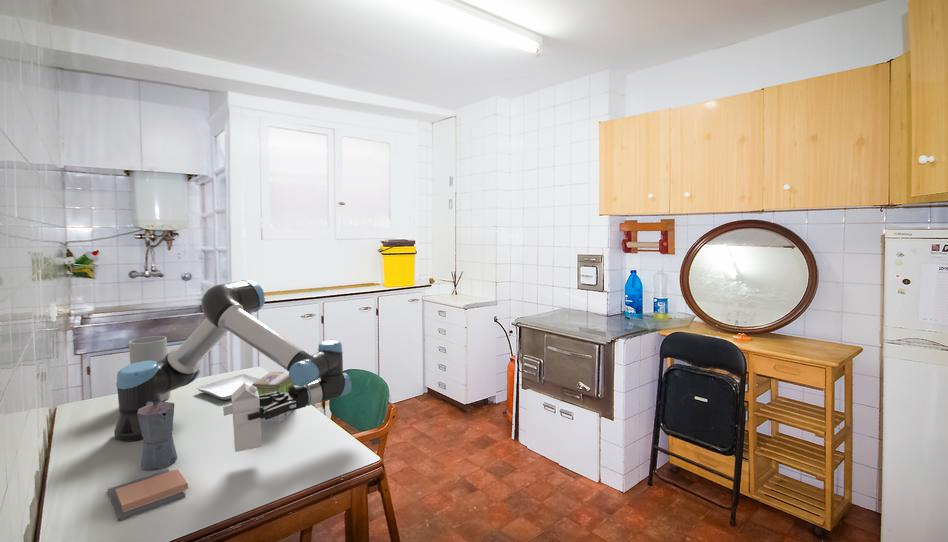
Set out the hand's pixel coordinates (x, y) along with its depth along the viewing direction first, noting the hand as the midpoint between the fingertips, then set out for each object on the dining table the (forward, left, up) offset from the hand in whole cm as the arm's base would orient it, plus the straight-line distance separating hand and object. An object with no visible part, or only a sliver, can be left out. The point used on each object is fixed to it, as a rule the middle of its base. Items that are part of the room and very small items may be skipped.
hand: (229, 415), depth 134 cm
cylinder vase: (-81, -5, -16) cm, 83 cm away
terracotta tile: (0, -12, -14) cm, 19 cm away
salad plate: (-68, +23, -17) cm, 74 cm away
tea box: (-29, +24, -16) cm, 41 cm away
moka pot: (-19, -15, -16) cm, 29 cm away
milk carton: (0, +5, -11) cm, 12 cm away
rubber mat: (-2, -21, -16) cm, 26 cm away
